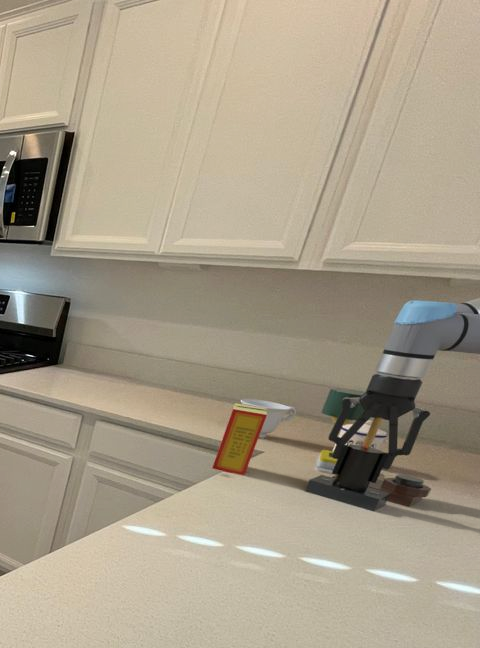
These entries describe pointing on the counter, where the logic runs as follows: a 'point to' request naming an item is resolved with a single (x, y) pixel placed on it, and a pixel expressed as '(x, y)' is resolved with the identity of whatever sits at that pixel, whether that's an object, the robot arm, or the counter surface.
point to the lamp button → (409, 481)
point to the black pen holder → (358, 467)
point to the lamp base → (400, 491)
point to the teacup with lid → (364, 436)
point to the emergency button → (325, 462)
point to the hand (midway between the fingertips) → (353, 476)
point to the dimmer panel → (347, 493)
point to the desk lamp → (336, 404)
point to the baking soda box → (240, 438)
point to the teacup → (271, 414)
